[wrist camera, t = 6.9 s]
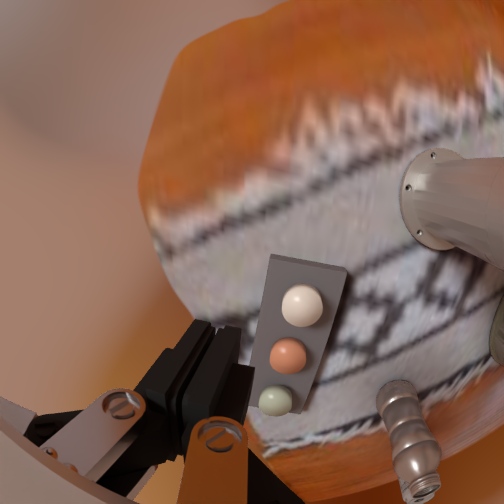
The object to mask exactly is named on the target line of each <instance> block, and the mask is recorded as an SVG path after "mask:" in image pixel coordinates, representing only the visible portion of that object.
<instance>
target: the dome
mask: <svg viewBox="0 0 504 504" xmlns="http://www.w3.org/2000/svg"><path fill="white" fill-rule="evenodd" d="M489 348H490V353H491V355H492V357H493V359H494V360H495V361H496V362H497V363H499V364H502V365H503V366H504V296H503V298H502V300H501V302H500V304H499V307H498V309H497V312H496V315H495V318H494V321H493V324H492V328H491V333H490V339H489Z"/></svg>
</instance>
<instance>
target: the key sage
mask: <svg viewBox="0 0 504 504" xmlns="http://www.w3.org/2000/svg"><path fill="white" fill-rule="evenodd" d="M291 407H292V393H291V391H290V390H289V389H288V388H286V387H284V386H281V385H270V386H267V387H265V388H264V389H263V390H262V391H261V393H260V399H259V409H260V410H261V411H262V412H263V413H265V414H267V415H269V416H282V415H285V414H287V413H288V412H289V411H290V410H291Z"/></svg>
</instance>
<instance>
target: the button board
mask: <svg viewBox="0 0 504 504" xmlns="http://www.w3.org/2000/svg"><path fill="white" fill-rule="evenodd" d="M346 275H347V272H346V270H345V268H344V267H339V266H334V265H328V264H323V263H318V262H312V261H307V260H302V259H296V258H291V257H286V256H280V255H275V254H271V256H270V259H269V265H268V270H267V276H266V281H265V287H264V292H263V298H262V303H261V308H260V313H259V319H258V324H257V329H256V334H255V339H254V345H253V350H252V355H251V360H250V365H249V366H252V367H255V373H254V380H253V386H252V391H251V396H250V401H249V405H248V406H253V407H258V408H259V399H260V393H261V391H262V390H263V389H264V388H265V387H267V386H270V385H281V386H284V387H286V388H288V389H289V390H290V391H291V393H292V407H291V410H290V411H289V413H296V414H301V411H302V409H303V406H304V404H305V401H306V399H307V396H308V394H309V391H310V388H311V386H312V383H313V380H314V378H315V375H316V372H317V369H318V367H319V364H320V361H321V358H322V355H323V352H324V349H325V346H326V343H327V340H328V337H329V334H330V331H331V328H332V324H333V321H334V318H335V315H336V311H337V308H338V304H339V301H340V297H341V294H342V290H343V287H344V283H345V279H346ZM299 283H305V284H309V285H312V286H313V287H315V288H316V289H317V290H318V291H319V293H320V296H321V300H322V305H323V311H322V314H321V316H320V318H319V319H318V320H317V321H316V322H315V323H314V324H312V325H310V326H306V327H297V326H294V325H292V324H290V323H289V322H287V321H286V319H285V318H284V316H283V314H282V301H283V296H284V294H285V292H286V291H287V289H289V288H290V287H291V286H293V285H295V284H299ZM284 337H293V338H296V339H298V340H300V341H301V342H302V343H303V344H304V346H305V349H306V363H305V366H304V367H303V368H302V369H301V370H300V371H299V372H297V373H294V374H282V373H279V372H277V371H275V370H274V369H273V368H272V366H271V364H270V353H271V348H272V345H273V344H274V343H275V342H276V341H277V340H279V339H281V338H284Z"/></svg>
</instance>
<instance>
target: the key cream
mask: <svg viewBox="0 0 504 504" xmlns="http://www.w3.org/2000/svg"><path fill="white" fill-rule="evenodd" d="M322 311H323V305H322V300H321V296H320V293H319V291H318V290H317V289H316V288H315V287H313V286H312V285H309V284H305V283H299V284H295V285H293V286H291V287H290V288H289V289H287V291H286V292H285V294H284V296H283V301H282V314H283V316H284V318H285V319H286V321H287V322H289V323H290V324H292V325H294V326H297V327H306V326H310V325H312V324H314V323H315V322H316V321H317V320H318V319H319V318H320V316H321V314H322Z"/></svg>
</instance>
